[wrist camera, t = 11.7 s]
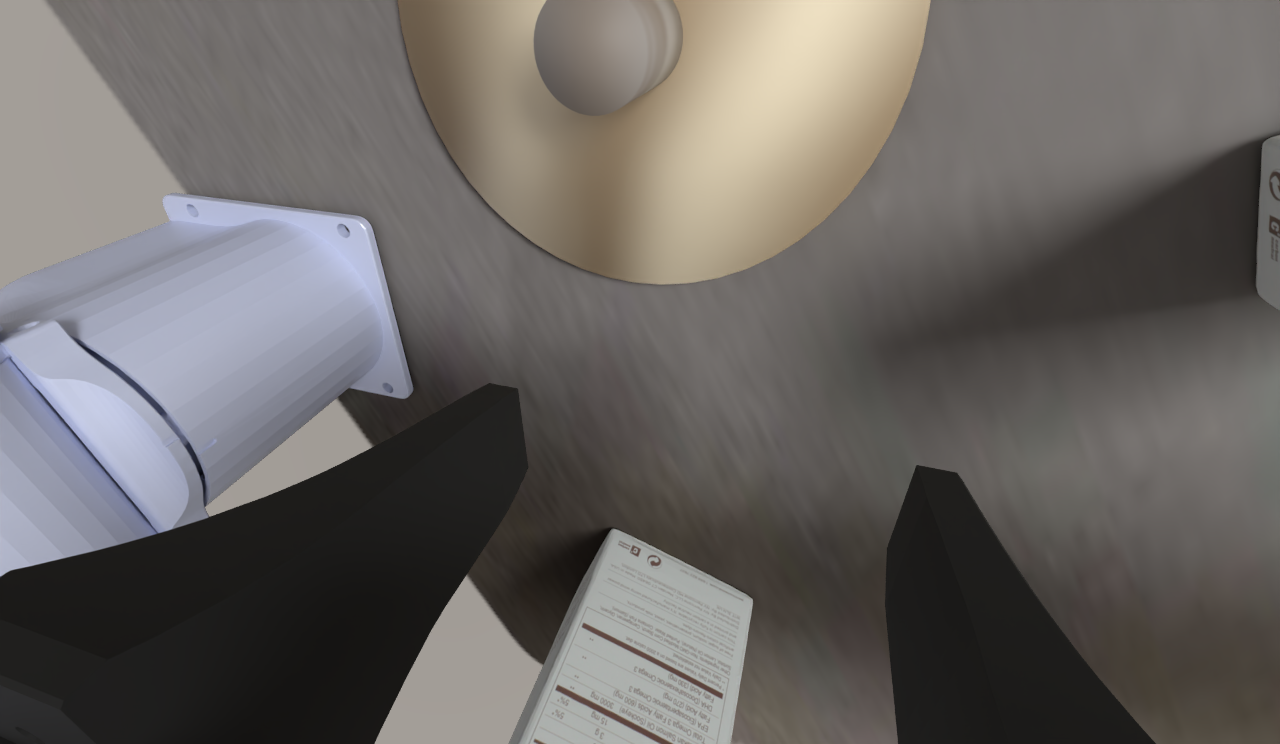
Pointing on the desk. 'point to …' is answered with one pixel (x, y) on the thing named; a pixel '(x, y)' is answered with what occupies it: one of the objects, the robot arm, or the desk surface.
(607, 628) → the supplement box
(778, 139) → the post base
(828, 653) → the desk surface
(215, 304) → the robot arm
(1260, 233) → the skincare box
